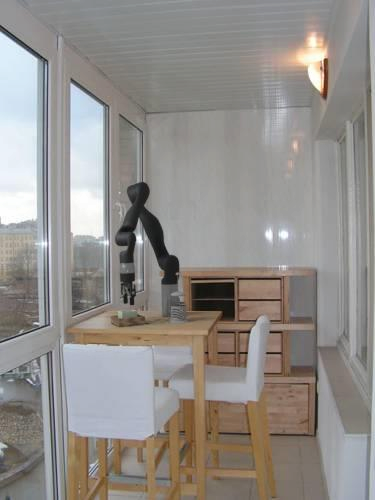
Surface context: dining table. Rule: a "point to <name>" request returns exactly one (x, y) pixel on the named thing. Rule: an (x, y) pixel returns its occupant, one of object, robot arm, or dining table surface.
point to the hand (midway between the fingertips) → (128, 304)
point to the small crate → (127, 314)
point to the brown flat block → (128, 321)
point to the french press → (178, 317)
